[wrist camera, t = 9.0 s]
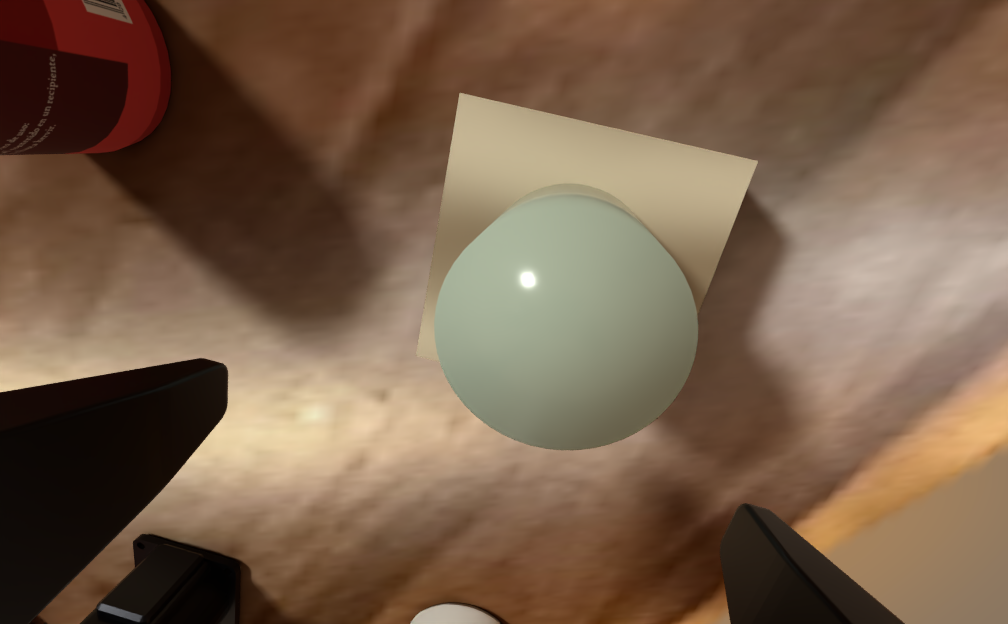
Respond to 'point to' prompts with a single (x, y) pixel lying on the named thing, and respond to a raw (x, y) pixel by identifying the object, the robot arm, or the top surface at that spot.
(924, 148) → the top surface
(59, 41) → the canned food
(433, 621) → the can
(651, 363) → the grey-green rounded piece
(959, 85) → the top surface
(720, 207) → the beech block
